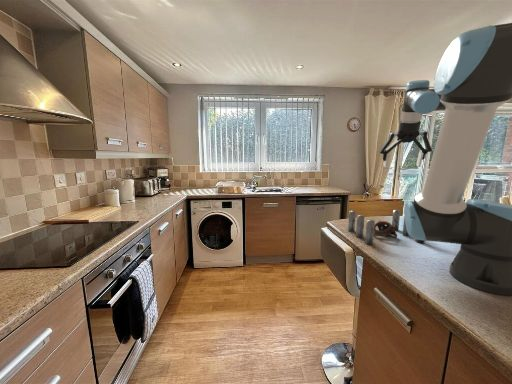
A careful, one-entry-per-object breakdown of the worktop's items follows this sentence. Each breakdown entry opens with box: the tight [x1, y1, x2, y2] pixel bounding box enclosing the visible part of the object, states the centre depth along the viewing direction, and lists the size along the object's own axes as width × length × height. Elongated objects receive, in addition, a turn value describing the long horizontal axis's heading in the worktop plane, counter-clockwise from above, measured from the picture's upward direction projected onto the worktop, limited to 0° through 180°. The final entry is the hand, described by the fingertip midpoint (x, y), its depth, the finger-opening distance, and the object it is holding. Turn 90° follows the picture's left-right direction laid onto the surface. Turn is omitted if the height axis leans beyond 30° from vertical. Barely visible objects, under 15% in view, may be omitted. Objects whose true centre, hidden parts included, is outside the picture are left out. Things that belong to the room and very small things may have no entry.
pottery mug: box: [374, 220, 398, 239], centre depth 100 cm, size 12×10×8 cm
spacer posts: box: [347, 209, 426, 246], centre depth 100 cm, size 19×25×10 cm
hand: (401, 166), depth 104 cm, fingers open, 13 cm apart
